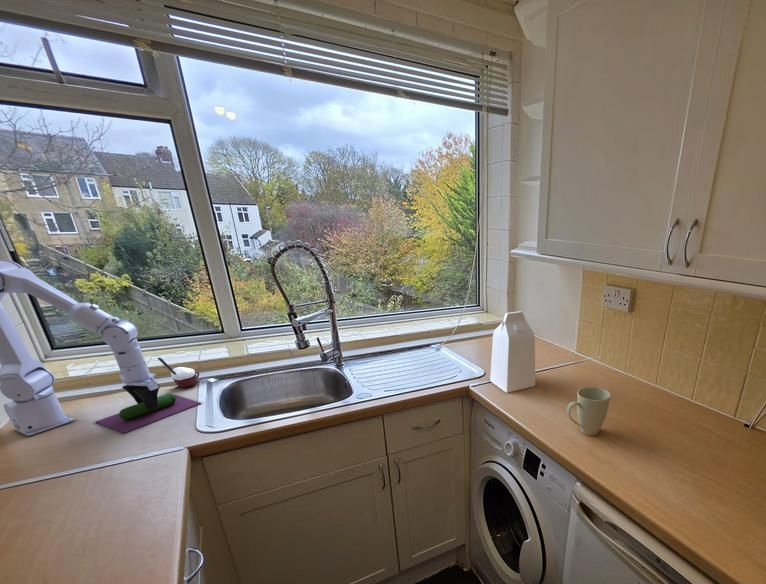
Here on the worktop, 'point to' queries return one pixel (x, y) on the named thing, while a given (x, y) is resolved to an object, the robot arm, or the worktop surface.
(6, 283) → the robot arm
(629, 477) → the worktop surface
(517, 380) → the milk
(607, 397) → the mug
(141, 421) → the towel
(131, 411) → the cucumber
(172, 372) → the cocoa
